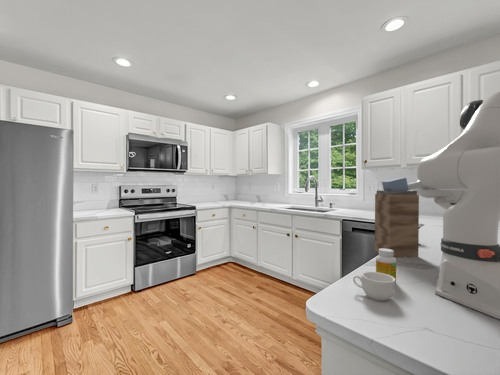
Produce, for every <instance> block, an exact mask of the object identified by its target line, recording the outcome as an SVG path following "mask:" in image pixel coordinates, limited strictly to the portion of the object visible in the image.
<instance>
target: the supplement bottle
mask: <svg viewBox="0 0 500 375" xmlns="http://www.w3.org/2000/svg"><path fill="white" fill-rule="evenodd" d="M393 256H394V251H393V250H391V249H384V248H381V249H379V253H378V255H377V256H376V258H375V259H376V260H375V272H379V273H384V274H387V275H390V276H392V277H394V278H395V285H396V284H397V259H396V257H393Z"/></svg>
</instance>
